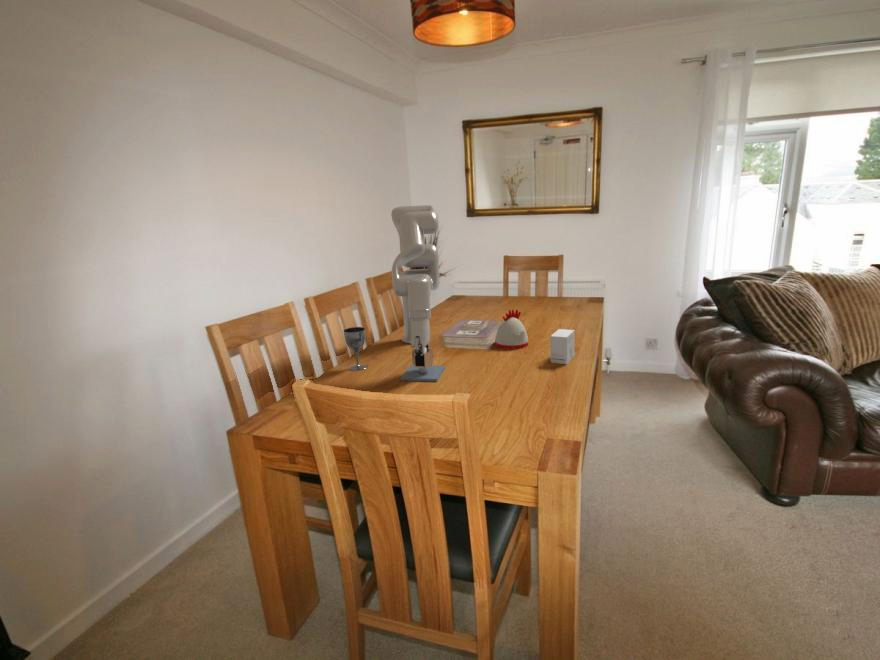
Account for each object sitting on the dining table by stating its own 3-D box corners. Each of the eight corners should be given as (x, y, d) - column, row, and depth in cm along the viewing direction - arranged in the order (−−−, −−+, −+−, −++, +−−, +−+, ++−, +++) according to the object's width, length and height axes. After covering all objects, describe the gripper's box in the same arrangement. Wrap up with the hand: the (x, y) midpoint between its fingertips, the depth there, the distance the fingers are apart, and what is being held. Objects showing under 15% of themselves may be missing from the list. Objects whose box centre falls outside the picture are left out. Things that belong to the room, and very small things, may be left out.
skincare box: (558, 354, 181) (558, 328, 178) (574, 356, 177) (575, 329, 174) (549, 362, 172) (549, 335, 169) (566, 364, 169) (567, 337, 166)
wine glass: (348, 372, 172) (344, 333, 168) (346, 365, 179) (342, 328, 175) (369, 369, 174) (366, 330, 170) (367, 362, 181) (363, 325, 177)
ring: (416, 360, 169) (415, 347, 168) (434, 361, 168) (433, 348, 166) (410, 367, 162) (409, 353, 161) (430, 367, 161) (429, 354, 160)
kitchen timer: (534, 346, 192) (534, 310, 188) (505, 351, 187) (505, 315, 183) (517, 337, 204) (517, 304, 200) (489, 342, 200) (488, 308, 196)
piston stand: (410, 367, 174) (409, 342, 171) (444, 368, 171) (443, 342, 168) (401, 380, 161) (399, 353, 159) (437, 381, 159) (436, 353, 156)
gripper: (415, 308, 169) (418, 354, 174) (402, 319, 153) (406, 370, 157) (435, 308, 168) (438, 355, 172) (424, 319, 151) (427, 371, 156)
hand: (422, 362), depth 165 cm, fingers closed on ring, 7 cm apart
